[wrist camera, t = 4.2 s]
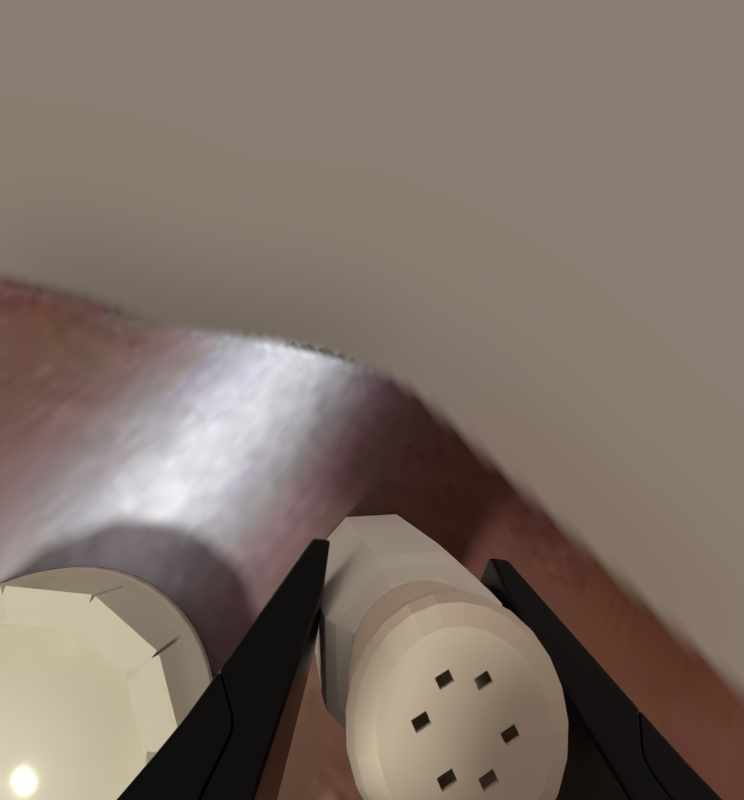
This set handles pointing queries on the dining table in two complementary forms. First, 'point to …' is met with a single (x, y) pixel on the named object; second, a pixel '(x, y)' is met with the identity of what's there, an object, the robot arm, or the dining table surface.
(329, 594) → the pepper shaker
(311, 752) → the dining table surface
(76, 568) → the ring dish
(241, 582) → the dining table surface
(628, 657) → the dining table surface
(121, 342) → the dining table surface
